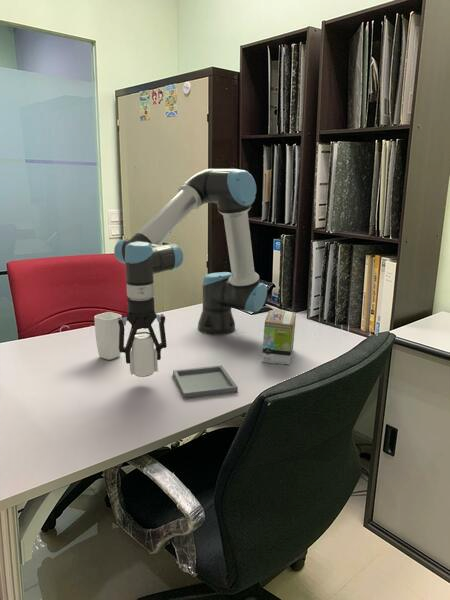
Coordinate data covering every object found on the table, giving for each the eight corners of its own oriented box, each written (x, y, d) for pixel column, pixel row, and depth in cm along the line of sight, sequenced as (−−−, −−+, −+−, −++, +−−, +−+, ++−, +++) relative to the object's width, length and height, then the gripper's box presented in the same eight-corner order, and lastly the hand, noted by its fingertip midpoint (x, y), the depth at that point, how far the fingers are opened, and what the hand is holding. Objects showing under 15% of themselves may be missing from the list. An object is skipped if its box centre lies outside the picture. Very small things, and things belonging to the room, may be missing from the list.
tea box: (290, 365, 156) (293, 324, 152) (261, 362, 158) (263, 321, 154) (293, 349, 170) (296, 311, 166) (266, 347, 172) (268, 308, 168)
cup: (125, 356, 160) (123, 315, 156) (109, 363, 154) (107, 320, 150) (110, 351, 164) (108, 311, 160) (94, 357, 158) (92, 316, 154)
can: (134, 368, 142) (132, 331, 138) (155, 367, 142) (154, 331, 139) (131, 377, 135) (129, 339, 132) (154, 377, 136) (152, 338, 133)
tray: (173, 375, 146) (173, 370, 146) (221, 370, 151) (221, 365, 150) (184, 399, 131) (184, 393, 131) (237, 392, 136) (237, 386, 136)
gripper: (106, 303, 126) (111, 380, 132) (176, 298, 131) (178, 372, 138) (104, 296, 133) (109, 369, 139) (171, 291, 138) (173, 362, 145)
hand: (143, 370), depth 139 cm, fingers closed on can, 6 cm apart
